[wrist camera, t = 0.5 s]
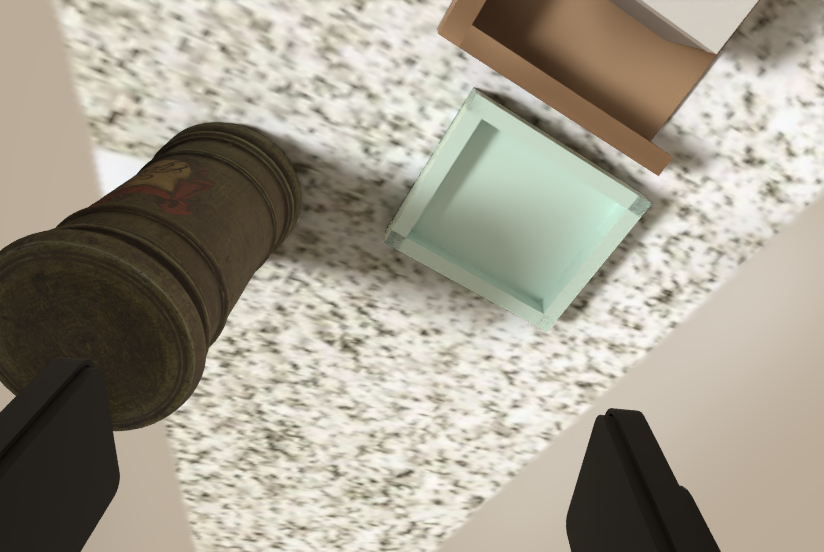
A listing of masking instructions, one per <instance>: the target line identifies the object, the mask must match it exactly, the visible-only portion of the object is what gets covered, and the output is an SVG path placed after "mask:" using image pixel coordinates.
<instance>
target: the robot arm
mask: <svg viewBox="0 0 824 552" xmlns="http://www.w3.org/2000/svg"><path fill="white" fill-rule="evenodd" d="M119 480H120V473H119V467H118V460H117V455H116V448H115V443H114V436H113V429H112V423H111V417H110V411H109V405H108V399H107V392H106V386H105V380H104V375H103V371H102V370H101V369H99V368H95V365H94V363H93V362H92V361H91V360H89V359H78V358H67V357H57V358H55V359H53V360H52V361H51V362H50V363H49V364H48V365H47V366H46V367H45V368H44V369H43V370H42V371H41V372H40V373H39V374H38V375H37V376H36V377H35V378H34V379H33V380H32V381H31V382H30V383H29V384H28V385H27V386H26V387H25V388H24V389H23V390H22V391H21V392H20V393H19V394H18V395H17V396H16V397H15V398H14V399H13V400H12V401H11V402H10V403H9V404H8V405H7V406H6V407H5V408H4V409H3V410H2V411H1V412H0V552H81V550H82V548H83V547H84V545H85V543H86V542H87V540H88V538H89V537H90V535H91V534H92V532H93V530H94V529H95V527H96V525H97V524H98V522H99V520H100V519H101V517H102V516H103V514H104V512H105V511H106V509H107V507H108V506H109V504H110V502H111V501H112V499H113V497H114V496H115V494H116V492H117V489H118V485H119ZM566 530H567V536H568V540H569V544H570V548H571V552H721V551H720V549H719V547H718V545H717V543H716V542H715V540H714V538H713V536H712V534H711V532H710V530H709V528H708V526H707V524H706V522H705V520H704V518H703V516H702V515H701V513H700V511H699V509H698V507H697V505H696V503H695V501H694V499H693V497H692V496H691V494H690V493H689V491H688V490H687V489H686V488H684V487H683V486H679V484H678V482H677V480H676V478H675V476H674V474H673V472H672V470H671V468H670V466H669V464H668V462H667V460H666V458H665V456H664V454H663V452H662V450H661V448H660V446H659V444H658V442H657V440H656V438H655V437H654V435H653V433H652V430H651V429H650V427H649V425H648V423H647V421H646V419H645V417H644V415H643V414H642V412H640V411H635V410H624V409H613V408H610V409H608V411H607V412H606V414H605V415H598V417H597V418H596V420H595V423H594V427H593V430H592V433H591V437H590V440H589V443H588V447H587V450H586V453H585V457H584V460H583V463H582V466H581V470H580V473H579V477H578V480H577V483H576V486H575V490H574V493H573V496H572V500H571V503H570V506H569V510H568V513H567V519H566Z"/></svg>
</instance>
